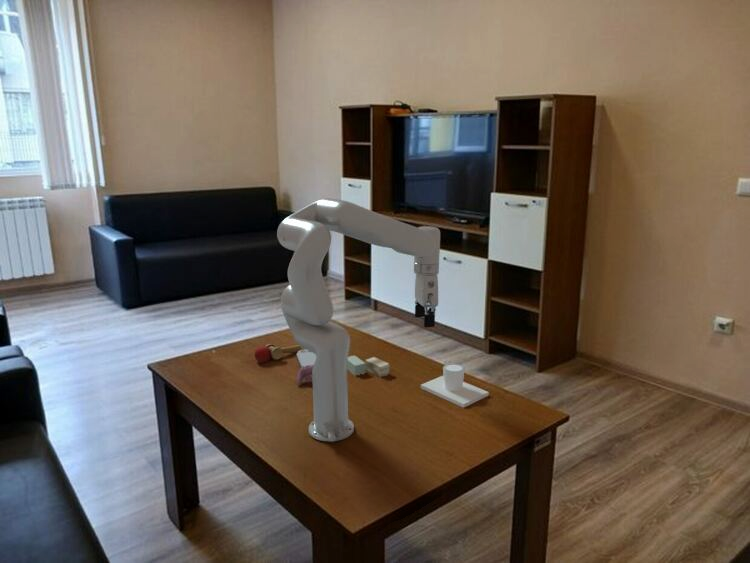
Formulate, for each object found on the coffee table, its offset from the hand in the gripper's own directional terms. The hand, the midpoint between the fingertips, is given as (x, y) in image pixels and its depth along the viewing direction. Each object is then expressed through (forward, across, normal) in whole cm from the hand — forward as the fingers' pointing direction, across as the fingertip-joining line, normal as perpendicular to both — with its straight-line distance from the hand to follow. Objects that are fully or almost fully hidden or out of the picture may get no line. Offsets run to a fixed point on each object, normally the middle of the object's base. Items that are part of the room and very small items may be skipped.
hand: (424, 321), depth 182 cm
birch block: (+24, +18, +10) cm, 32 cm away
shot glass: (+22, -2, -10) cm, 24 cm away
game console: (+24, +32, +32) cm, 51 cm away
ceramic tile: (+23, -2, -10) cm, 25 cm away
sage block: (+24, +21, +18) cm, 37 cm away
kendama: (+24, +39, +43) cm, 63 cm away
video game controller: (+24, +14, +33) cm, 44 cm away
